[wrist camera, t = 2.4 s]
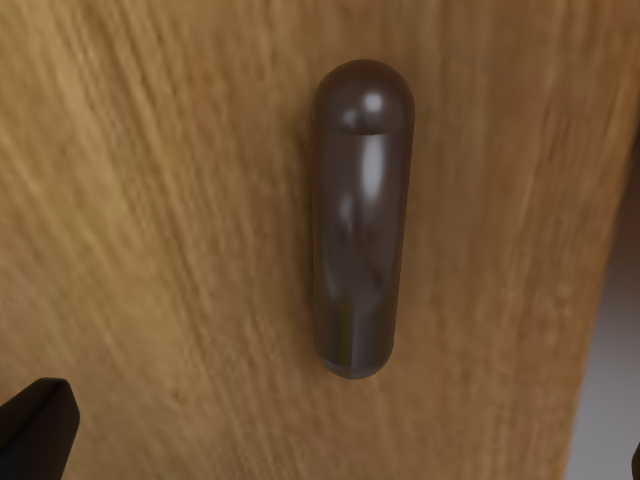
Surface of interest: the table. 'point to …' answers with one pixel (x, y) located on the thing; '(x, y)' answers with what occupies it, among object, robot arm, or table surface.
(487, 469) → the table surface
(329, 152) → the stick
